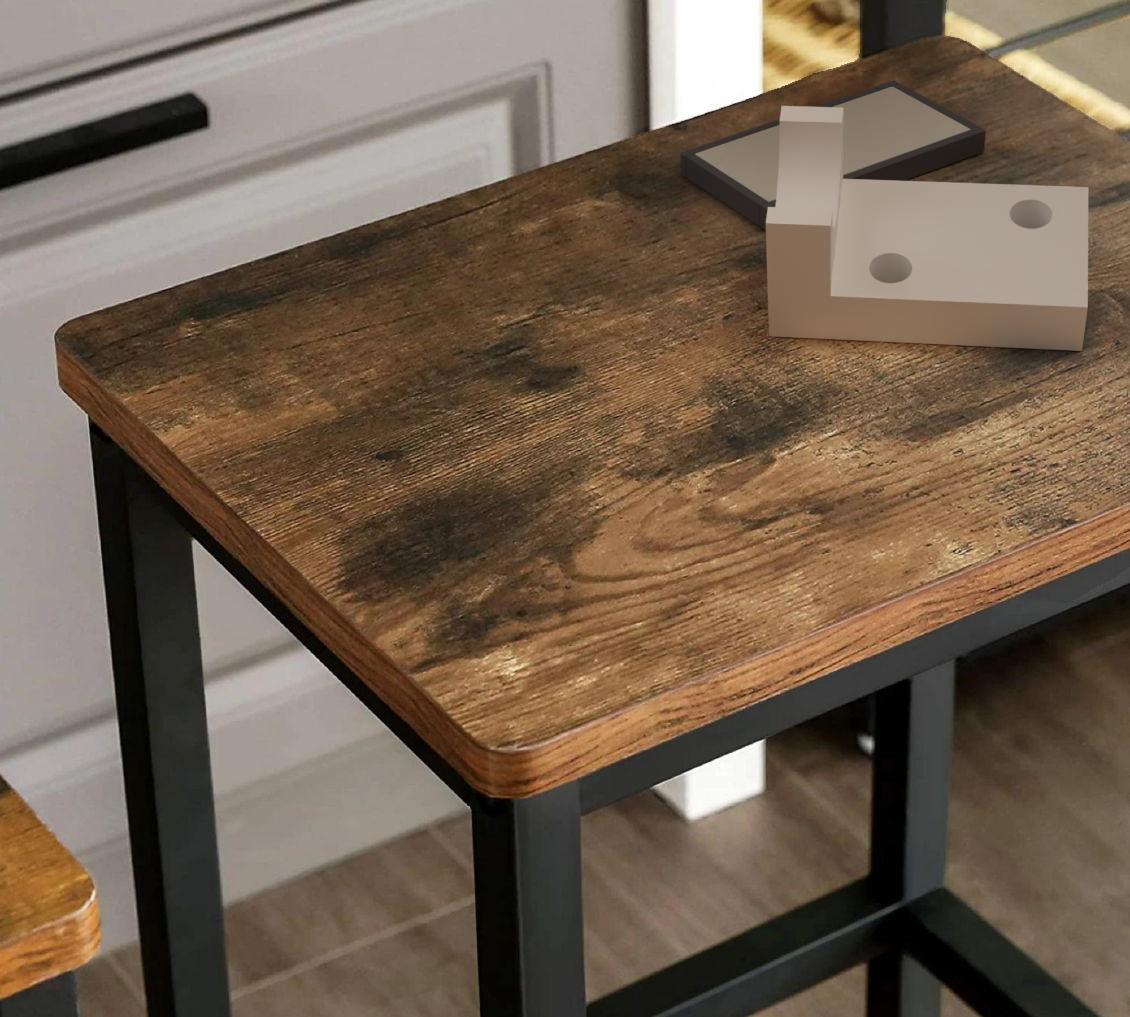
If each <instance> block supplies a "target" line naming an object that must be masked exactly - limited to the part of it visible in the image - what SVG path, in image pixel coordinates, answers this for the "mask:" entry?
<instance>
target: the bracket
mask: <svg viewBox="0 0 1130 1017" xmlns="http://www.w3.org/2000/svg"><path fill="white" fill-rule="evenodd" d="M779 119H780V144H779V169H778V184H777V196H776V205H775V207H768V210H767V217H766V231H765V244H766V245H765V246H766V248H765V249H766V281H767V314H768V337H773V338H774V337H775V338H776V337H777V338H795V339H796V338H798V339H816V340H817V339H820V340H840V341H860V342H861V341H863V342H881V343H882V342H885V343H901V344H902V343H904V344H905V343H906V344H923V345H924V344H927V345H945V346H946V345H947V346H966V347H967V346H968V347H969V346H970V347H988V348H989V347H990V348H1010V349H1011V348H1012V349H1032V350H1050V351H1051V350H1054V351H1075V352H1083V346H1084V340H1085V338H1084V337H1085V331H1086V323H1087V316H1088V309H1089V306H1088V305H1089V186H1069V185H1068V186H1067V185H1066V186H1065V185H1063V186H1062V185H1035V184H1034V185H1033V184H1011V183H1010V184H1007V183H981V182H980V183H975V182H952V181H951V182H948V181H947V182H946V181H923V180H922V181H921V180H918V181H917V180H906V181H894V180H865V179H843V120H844V108H839V107H816V106H804V105H803V106H801V105H781V107H780V115H779Z"/></svg>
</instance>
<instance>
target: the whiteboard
mask: <svg viewBox="0 0 1130 1017" xmlns="http://www.w3.org/2000/svg"><path fill="white" fill-rule="evenodd" d="M815 107H839V108H844V120H843V179H865V180H894V181H909V180H911V179H914V178H916V177H919V176H922V175H925V174H928V173H930V172H933V171H935V170H939V169H941V168H944V167H947V166H950V165H953V164H956V163H958V162H960V161H963V160H965V159H969V158H971V157H974V156H977V155H980V154H982V153H984V152H985V145H986V134H987V133H986V129H985V128H983V127H981V126H979V125H977V124H976V123H974V122H973V121H970V120H968V119H966V118H965V117H963V116H961V115H959V114H957V113H955V112H953V111H952V110H950V109H948V108H946V107H944V106H943V105H940V104H938V103H937V102H935V101H933V100H932V99H930V98H927V97H926V96H924V95H923V94H920V93H918V92H916V91H915V90H913V89H911V88H909V87H907V86H905V85H903V84H902V83H900V82H898V81H896V80H890V81H887V82H884V83H882V84H878V85H875V86H873V87H869V88H867V89H863V90H861V91H858V92H855V93H853V94H852V93H851V94H849V95H846V96H843V97H840V98H837V99H835V100H832V101H828V102H826V103H822V104H820V105H815ZM779 144H780V118H778V119H776V120H773V121H770V122H767V123H764V124H761V125H757V126H755V127H752V128H749V129H746V130H743V131H740V132H737V133H734V134H731V135H728V136H725V137H722V138H720V139H717V140H714V141H711V142H707V143H705V144H702V145H699V146H696V147H693V148H690V149H687V150H684V151H681V152H680V154H679V156H680V175H681V176H683V177H684V178H685V179H687V180H688V181H690V182H691V183H693V184H694V185H696V186H697V187H699V188H701V189H702V190H703V191H705V192H707V193H708V194H710V195H711V196H712V197H714V198H715V199H717V200H718V201H720V202H721V203H723V204H724V205H725V206H727V207H729V208H731V209H732V210H733V211H735V212H737V213H738V214H739V215H741V216H743V218H745V219H747V220H749V221H750V222H752V223H753V224H755V225H756V226H758V227H759V228H761V229H762V230H764V231H765V232H766V217H767V210H768V207H775V205H776V196H777V184H778V169H779Z"/></svg>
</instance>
